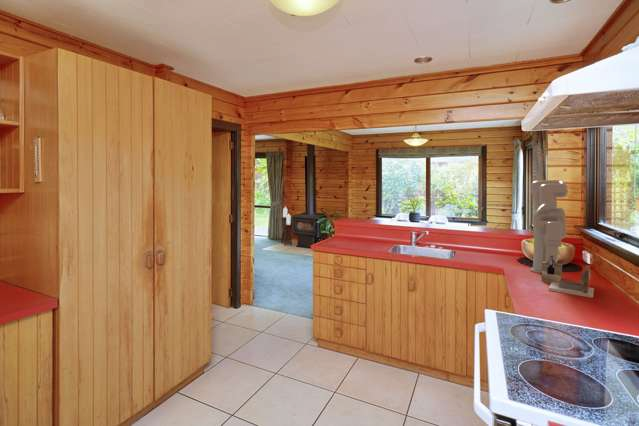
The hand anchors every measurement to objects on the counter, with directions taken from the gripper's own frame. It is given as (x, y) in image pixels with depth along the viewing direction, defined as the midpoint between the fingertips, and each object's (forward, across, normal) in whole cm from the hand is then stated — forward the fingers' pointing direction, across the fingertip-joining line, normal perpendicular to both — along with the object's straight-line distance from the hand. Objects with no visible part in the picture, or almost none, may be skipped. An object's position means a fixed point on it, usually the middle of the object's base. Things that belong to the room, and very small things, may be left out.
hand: (551, 272), depth 187 cm
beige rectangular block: (+6, -1, 0) cm, 6 cm away
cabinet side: (+4, +12, +15) cm, 20 cm away
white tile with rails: (+6, +12, +10) cm, 17 cm away
